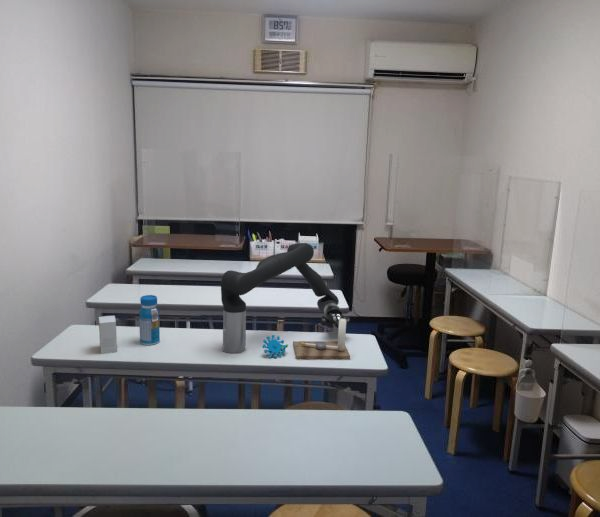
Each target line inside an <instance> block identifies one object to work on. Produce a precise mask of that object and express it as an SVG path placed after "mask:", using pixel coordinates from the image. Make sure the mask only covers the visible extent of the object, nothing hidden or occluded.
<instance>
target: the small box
mask: <svg viewBox="0 0 600 517" xmlns="http://www.w3.org/2000/svg"><path fill="white" fill-rule="evenodd" d="M116 320H117V319H116V316H115V315H104V316H103V315H102V316H98V328H99V331H98V332H99V347H100V354H111V353H117V352H118V340H117V339H118V336H117V321H116Z"/></svg>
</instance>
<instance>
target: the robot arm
mask: <svg viewBox="0 0 600 517" xmlns="http://www.w3.org/2000/svg"><path fill="white" fill-rule="evenodd" d="M314 252H315V250H314V247H313V246H312V245H311V244H310V243H308V242H307V243H306V242H297V243H292V244H290V245H288V247H287V251H285V252H279V253H276V254H272V255H270V256H267V257H265V258H263V259H262V260H260V261H259V262H258V264H257V265H256V268H255V269H253V270H251V271H247V272H240V271H238V270H237V271H236V270H232V269H231V270H226V271H225V272H224V273H223V274H222V276H221V277H222V278H221V280H220V296H221V297H220V298H221V303H222V307H223V322H222V323H223V327H222V352H223V353H225V352H226V353H230V354H238V353H243V352H244V351H245V350H246V337H247V336H246V335H247V334H246V332H247V331H246V330H247V328H246V327H247V323H246V322H247V303H246V302H245V301H244V300H243V298H242V297H241V296H244V295H246V294H247V293H249V292H251V291H253V290H254V289H256V288H257V287H258V286H260V285H262V284H264V283H265V282H268V281H270V280H271V279H274V278H276V277H278V276H280V275H282V274H283V273H285V272H287V271H289V270H291V269H293V268H296V269H297V271H298V272H299V273H300V274H301V276H302V277H303V278H304V279H305V281H306V282H307V283H308V285H309V287H310V289H311V290H312V292H313V294H314V295H315V296H316V297H318V298H319V299H318V300H317V302H316V306H317V307H318V309H319V311H320V312H322V313H324V315H322V316H321V322H322V323H324V324H327V325H330V326H334V327H335V328H337V329H339V319H346V324H348V323H350V316H349V315H347V316H345V315H344V314H343V312H342V311H341V308H340V307H339V303H340V302H339V297H338V296H337V295H336V294H335V293H334V292H332V290H330V288H329V287H328V285H327V284H326V282H325V281H324V279H323V277H322V276H321V275H320V274H319V272H317V271H315V270H314V269H313V268H312V267H311V266H310V265H309V264H308V263H309V262H310V261H311V260H312V259H313V258H314V255H315V253H314Z"/></svg>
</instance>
